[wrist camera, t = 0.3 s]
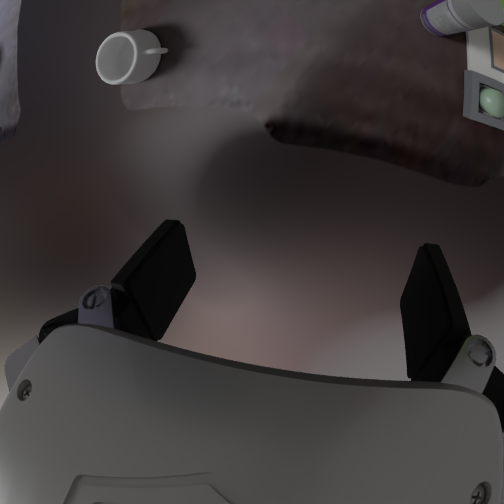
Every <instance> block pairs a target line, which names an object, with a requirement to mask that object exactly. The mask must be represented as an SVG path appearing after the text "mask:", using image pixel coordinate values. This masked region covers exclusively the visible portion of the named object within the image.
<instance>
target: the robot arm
mask: <svg viewBox="0 0 504 504" xmlns="http://www.w3.org/2000/svg"><path fill="white" fill-rule="evenodd" d="M195 279H196V272H195V268H194V264H193V260H192V256H191V252H190V248H189V245H188V240H187V236H186V232H185V227H184V225H183V224H181V223H180V221H179V220H165V221H164V222H163V223H162V224H161V225H160V226H159V227H158V228H157V229H156V230H155V231H154V232H153V233H152V235H151V236H150V237H149V238H148V239H147V240H146V241H145V243H143V244H142V246H141V247H140V248H139V249H138V250H137V251H136V252H135V254H134V255H133V256H132V257H131V258H130V259H129V260H128V262H127V263H126V264H125V265H124V266H123V268H122V269H121V270H120V271H119V272H118V273H117V275H116V276H115V277H114V278H113V280H112V281H111V285H112V288H111V289H109V288H108V287H106V286H96V287H93V288H91V289H89V290H88V291H86V292H85V293H84V295H83V296H82V297H81V299H80V302H79V308H77V309H74V310H72V311H69V312H67V313H65V314H62V315H60V316H57V317H55V318H53V319H51V320H49V321H47V322H46V323H45V324H44V325H43V327H42V328H41V330H40V333H39V338H38V336H37V335H36V336H35V337H34V338H32V339H31V340H29V341H28V342H27V343H25V344H24V345H23V346H21V347H20V348H19V349H17V350H16V351H15V352H13V353H12V354H11V355H10V356H9V357H8V358H7V360H6V363H5V373H6V379H7V383H8V387H9V394H8V396H7V398H6V400H5V402H4V404H3V406H2V408H1V410H0V504H504V374H503V373H502V372H501V371H500V370H499V369H498V368H497V367H496V366H494V365H495V362H496V352H495V350H494V347H493V345H492V344H491V342H490V341H489V340H488V339H487V338H485V337H483V336H481V335H471V331H470V328H469V324H468V321H467V317H466V314H465V311H464V308H463V305H462V302H461V299H460V296H459V293H458V291H457V288H456V285H455V283H454V280H453V278H452V275H451V272H450V270H449V267H448V265H447V262H446V260H445V258H444V255H443V254H442V251H441V248H440V246H439V245H437V244H429V243H425V244H424V245H423V246H420V247H419V249H418V252H417V255H416V258H415V261H414V264H413V267H412V270H411V273H410V275H409V278H408V281H407V283H406V286H405V288H404V291H403V294H402V296H401V300H400V308H401V315H402V323H403V331H404V340H405V350H406V362H407V376H408V378H411V381H393V380H376V379H360V378H348V377H336V376H327V375H318V374H310V373H303V372H295V371H289V370H282V369H276V368H270V367H264V366H259V365H253V364H248V363H243V362H237V361H233V360H228V359H224V358H219V357H215V356H210V355H206V354H202V353H197V352H194V351H190V350H186V349H182V348H178V347H174V346H171V345H167V344H164V343H160V342H157V341H158V340H160V339H161V338H162V337H163V335H164V333H165V332H166V330H167V328H168V327H169V325H170V323H171V321H172V319H173V318H174V316H175V314H176V313H177V311H178V309H179V307H180V306H181V304H182V302H183V300H184V299H185V297H186V295H187V294H188V292H189V290H190V288H191V287H192V285H193V283H194V282H195Z"/></svg>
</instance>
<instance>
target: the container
mask: <svg viewBox="0 0 504 504" xmlns="http://www.w3.org/2000/svg"><path fill="white" fill-rule="evenodd" d="M420 18H421V22H422V24H423V25H424V27H425V28H426V29H427V30H428V31H429V32H430V33H432V34H434V35H436V36H446V35H451V34H455V33H460V32H465V31H471V30H477V29H481V28H486V27H491V26H496V25H500V24H502V23H503V22H504V10H503V7H502V5H501V3H500V1H499V0H437V1H436V2H434V3H432V4H430V5H429V6H427V7H425V8H424V9H423V10H422V11H421V14H420Z"/></svg>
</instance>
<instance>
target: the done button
mask: <svg viewBox="0 0 504 504" xmlns="http://www.w3.org/2000/svg"><path fill="white" fill-rule="evenodd" d="M479 107H480V108H481V110H482V111H484V112H486V113H488V114H490V115H493V116H495V117H503V116H504V95H503V94H502V93H501V92H500V91H498V90H495V89H491V88H487V87H482V88H480V89H479Z"/></svg>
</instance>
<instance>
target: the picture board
mask: <svg viewBox="0 0 504 504" xmlns="http://www.w3.org/2000/svg"><path fill="white" fill-rule="evenodd" d="M466 42H467V61H468V70H464V105H463V116H465V117H467V118H469V119H472V120H475V121H478V122H481V123H484V124H487V125H490V126H493V127H496V128H498V129H501V130H504V116H503V117H495V116H493V115H490V114H488V113H486V112H484V111H482V110H481V108H480V107H479V89H480V88H482V87H487V88H491V89H495V90H498V91H500V92H501V93H502V94H503V95H504V33H502V32H500V31H498V30H496V29H494V28H492V27H486V28H481V29H477V30H471V31H466Z"/></svg>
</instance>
